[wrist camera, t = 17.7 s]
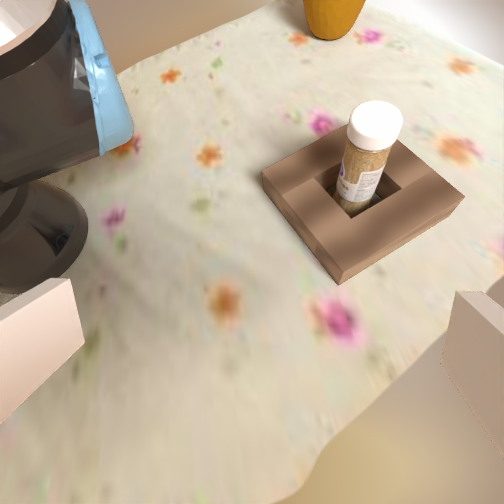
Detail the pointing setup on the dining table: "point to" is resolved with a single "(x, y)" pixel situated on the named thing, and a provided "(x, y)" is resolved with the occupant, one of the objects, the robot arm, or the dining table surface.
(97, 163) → the dining table surface
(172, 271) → the dining table surface
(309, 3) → the apple
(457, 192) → the frame
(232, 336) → the dining table surface
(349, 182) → the sprinkles bottle
